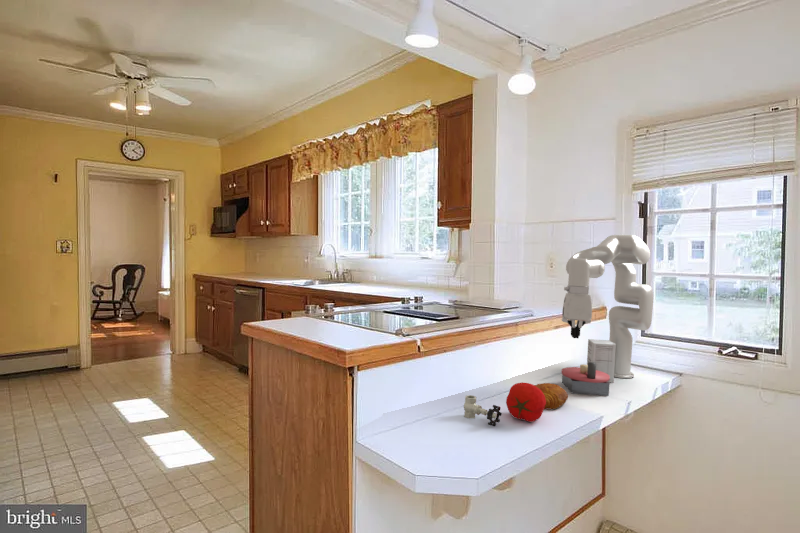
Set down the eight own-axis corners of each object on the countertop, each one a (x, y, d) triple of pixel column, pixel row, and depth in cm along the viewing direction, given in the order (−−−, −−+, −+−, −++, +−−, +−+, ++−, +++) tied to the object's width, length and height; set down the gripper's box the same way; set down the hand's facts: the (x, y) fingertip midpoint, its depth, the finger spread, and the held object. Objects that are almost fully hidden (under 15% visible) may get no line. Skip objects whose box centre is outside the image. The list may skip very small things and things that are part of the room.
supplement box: (607, 377, 202) (610, 340, 202) (614, 383, 193) (616, 344, 193) (585, 375, 204) (587, 338, 203) (591, 381, 195) (593, 342, 194)
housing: (561, 382, 190) (562, 371, 190) (595, 385, 189) (596, 373, 189) (571, 393, 176) (572, 380, 176) (608, 395, 175) (609, 383, 175)
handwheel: (556, 368, 192) (557, 351, 192) (599, 371, 191) (600, 354, 190) (568, 380, 174) (569, 362, 174) (616, 384, 173) (618, 365, 172)
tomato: (525, 420, 154) (512, 433, 143) (507, 385, 157) (492, 396, 146) (558, 407, 148) (547, 420, 137) (538, 371, 151) (526, 381, 140)
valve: (458, 417, 146) (488, 429, 137) (459, 397, 146) (489, 407, 137) (471, 412, 150) (501, 424, 142) (472, 393, 150) (502, 403, 141)
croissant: (571, 408, 165) (574, 387, 166) (556, 413, 153) (560, 390, 154) (534, 398, 174) (537, 377, 175) (517, 401, 162) (520, 379, 163)
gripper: (560, 290, 171) (558, 338, 172) (601, 292, 170) (598, 340, 171) (555, 288, 179) (552, 334, 180) (594, 290, 178) (591, 337, 178)
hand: (575, 337), depth 175 cm, fingers closed
